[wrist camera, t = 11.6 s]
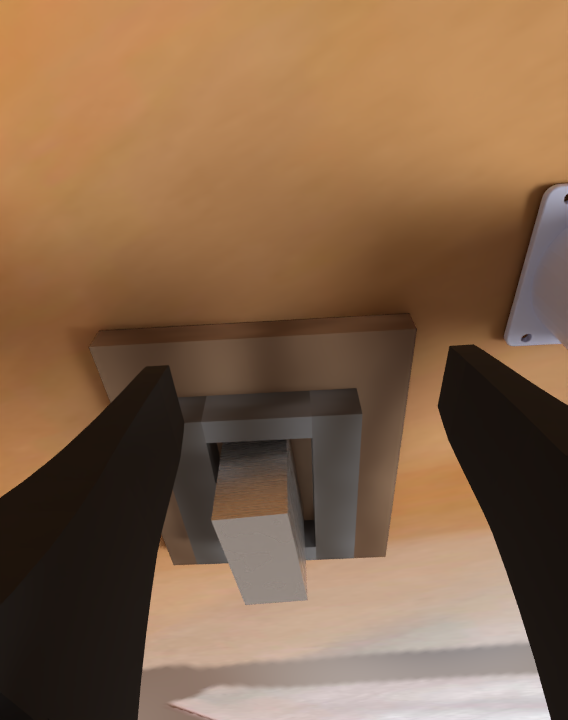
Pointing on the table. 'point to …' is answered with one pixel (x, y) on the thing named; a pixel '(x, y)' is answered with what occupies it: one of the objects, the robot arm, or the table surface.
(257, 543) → the gray rectangular block
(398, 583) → the table surface
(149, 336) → the slot stand
